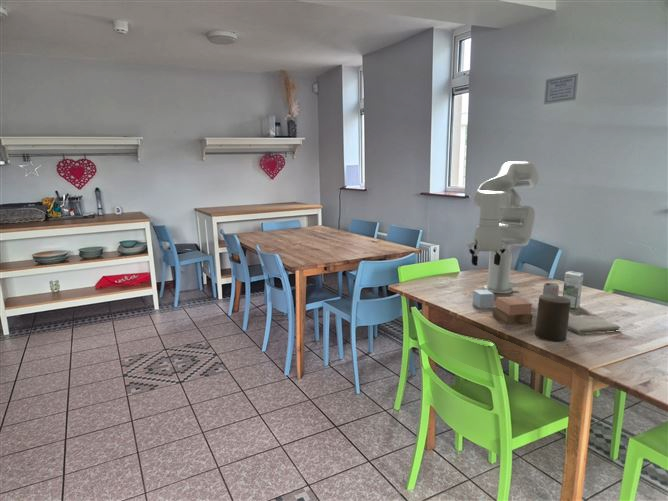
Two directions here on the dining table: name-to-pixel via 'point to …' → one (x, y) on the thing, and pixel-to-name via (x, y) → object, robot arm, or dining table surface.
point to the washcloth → (590, 324)
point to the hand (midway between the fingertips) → (485, 264)
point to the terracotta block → (513, 305)
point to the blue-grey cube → (483, 298)
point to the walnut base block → (512, 317)
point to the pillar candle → (552, 317)
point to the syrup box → (573, 287)
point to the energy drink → (551, 289)
